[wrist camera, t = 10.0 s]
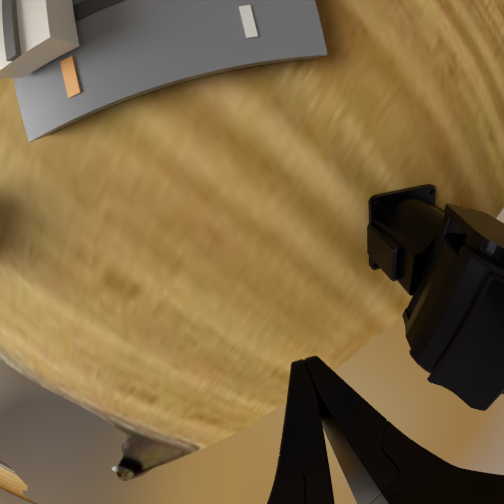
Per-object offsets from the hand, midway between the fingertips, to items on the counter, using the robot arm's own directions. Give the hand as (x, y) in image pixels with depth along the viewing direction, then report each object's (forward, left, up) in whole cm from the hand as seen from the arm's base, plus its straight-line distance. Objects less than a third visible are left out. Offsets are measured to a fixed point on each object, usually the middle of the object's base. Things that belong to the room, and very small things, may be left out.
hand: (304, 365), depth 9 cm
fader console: (+3, -16, -13) cm, 21 cm away
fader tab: (+9, -16, -10) cm, 21 cm away
